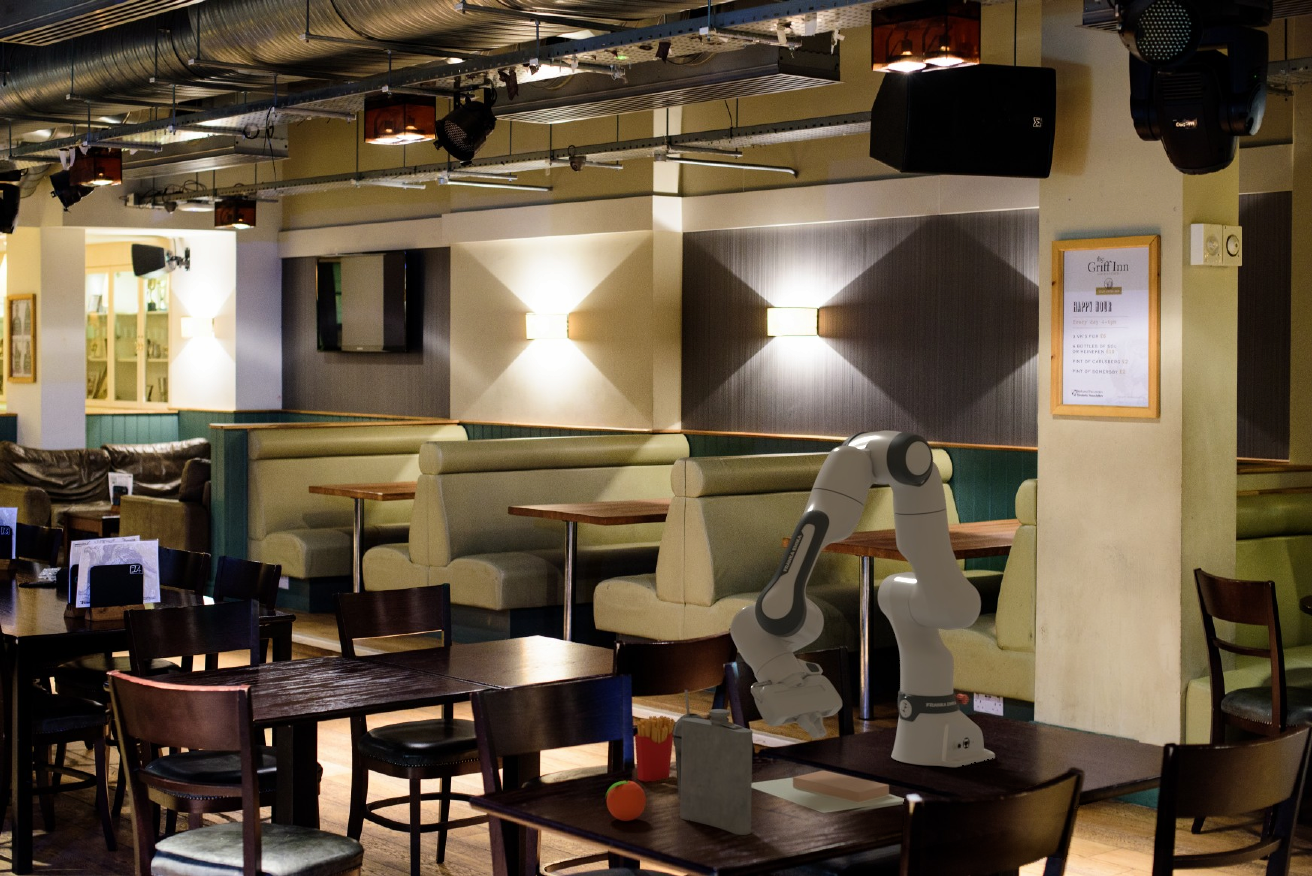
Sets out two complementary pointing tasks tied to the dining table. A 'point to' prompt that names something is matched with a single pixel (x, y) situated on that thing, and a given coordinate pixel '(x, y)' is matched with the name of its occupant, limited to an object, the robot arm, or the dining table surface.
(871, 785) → the tile
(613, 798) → the clementine
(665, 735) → the french fries
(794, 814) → the dining table surface
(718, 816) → the hip flask
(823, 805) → the mat
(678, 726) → the beverage cup
